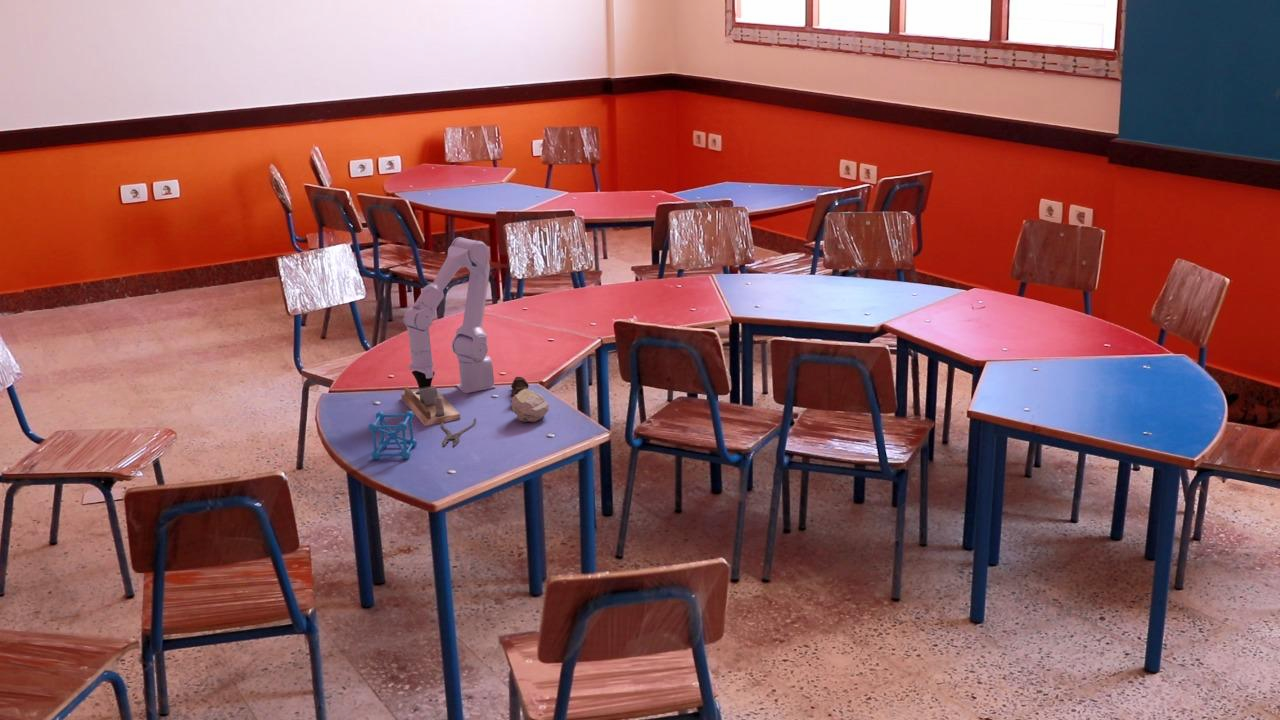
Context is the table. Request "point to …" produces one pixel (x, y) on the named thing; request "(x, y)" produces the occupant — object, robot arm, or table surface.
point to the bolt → (519, 385)
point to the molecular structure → (392, 435)
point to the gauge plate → (430, 408)
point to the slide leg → (428, 395)
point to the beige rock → (529, 405)
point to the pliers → (454, 436)
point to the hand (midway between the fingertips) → (425, 394)
